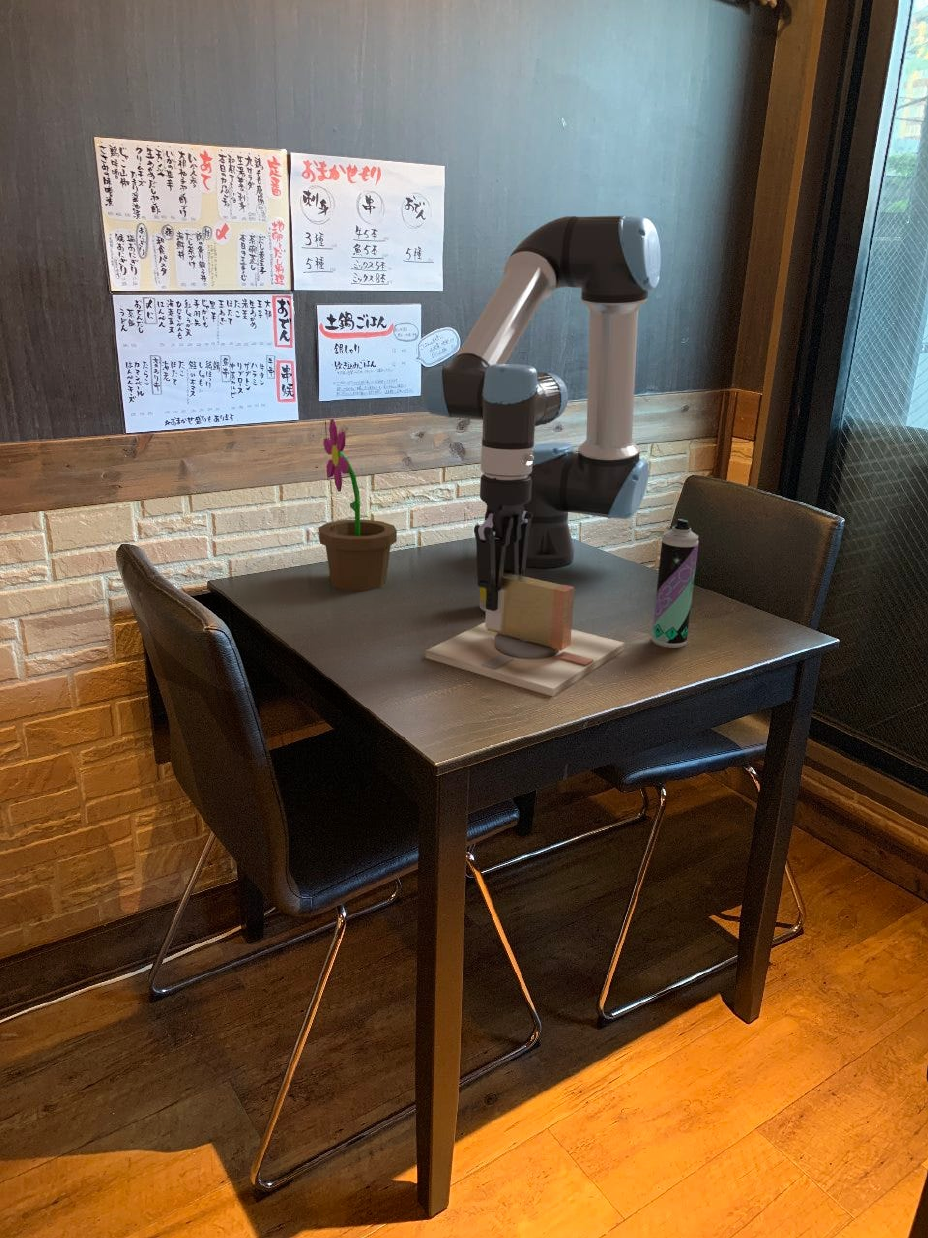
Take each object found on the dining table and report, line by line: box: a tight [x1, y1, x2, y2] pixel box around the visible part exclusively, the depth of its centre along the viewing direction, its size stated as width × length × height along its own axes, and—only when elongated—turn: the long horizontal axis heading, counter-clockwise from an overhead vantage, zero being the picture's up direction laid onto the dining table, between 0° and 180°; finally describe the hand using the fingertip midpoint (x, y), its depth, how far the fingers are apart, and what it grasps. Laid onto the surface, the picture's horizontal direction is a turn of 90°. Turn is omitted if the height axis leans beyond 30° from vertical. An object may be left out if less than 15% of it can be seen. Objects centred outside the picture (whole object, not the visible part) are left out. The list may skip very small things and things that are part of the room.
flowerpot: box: [318, 418, 398, 592], centre depth 168 cm, size 14×14×30 cm
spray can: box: [651, 518, 699, 649], centre depth 145 cm, size 6×6×20 cm
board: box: [425, 621, 626, 698], centre depth 142 cm, size 22×22×2 cm
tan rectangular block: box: [487, 572, 575, 650], centre depth 140 cm, size 13×3×9 cm, turn 56°
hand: (499, 625), depth 144 cm, fingers closed on tan rectangular block, 3 cm apart
